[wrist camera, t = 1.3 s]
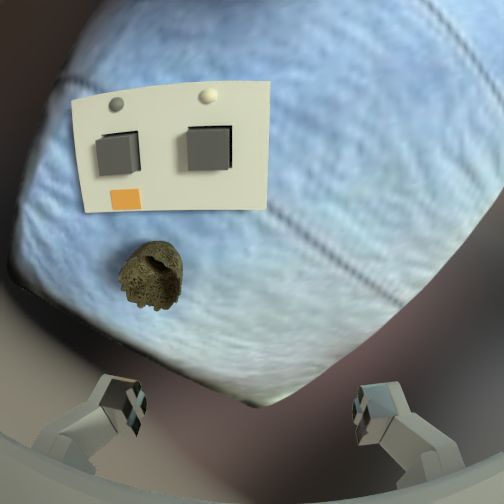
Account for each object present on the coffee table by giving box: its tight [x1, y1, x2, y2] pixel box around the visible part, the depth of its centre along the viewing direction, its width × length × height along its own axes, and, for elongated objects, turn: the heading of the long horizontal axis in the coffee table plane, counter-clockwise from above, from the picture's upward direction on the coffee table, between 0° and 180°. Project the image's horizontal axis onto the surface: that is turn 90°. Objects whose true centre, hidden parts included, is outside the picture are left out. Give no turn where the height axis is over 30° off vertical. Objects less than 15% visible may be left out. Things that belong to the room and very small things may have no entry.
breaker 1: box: [95, 132, 141, 176], centre depth 29 cm, size 4×4×3 cm
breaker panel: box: [71, 81, 270, 213], centre depth 30 cm, size 14×22×3 cm, turn 89°
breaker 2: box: [187, 127, 230, 171], centre depth 29 cm, size 4×4×3 cm
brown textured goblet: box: [118, 241, 183, 311], centre depth 35 cm, size 8×7×8 cm
